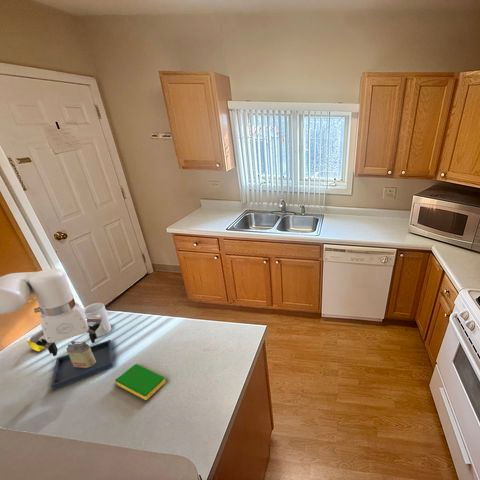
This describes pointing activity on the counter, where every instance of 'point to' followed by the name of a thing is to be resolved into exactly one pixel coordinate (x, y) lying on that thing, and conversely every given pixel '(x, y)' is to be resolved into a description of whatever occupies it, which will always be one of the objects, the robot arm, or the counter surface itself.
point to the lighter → (80, 354)
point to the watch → (34, 345)
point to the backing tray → (70, 374)
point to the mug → (98, 311)
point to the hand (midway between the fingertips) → (75, 346)
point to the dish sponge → (140, 381)
